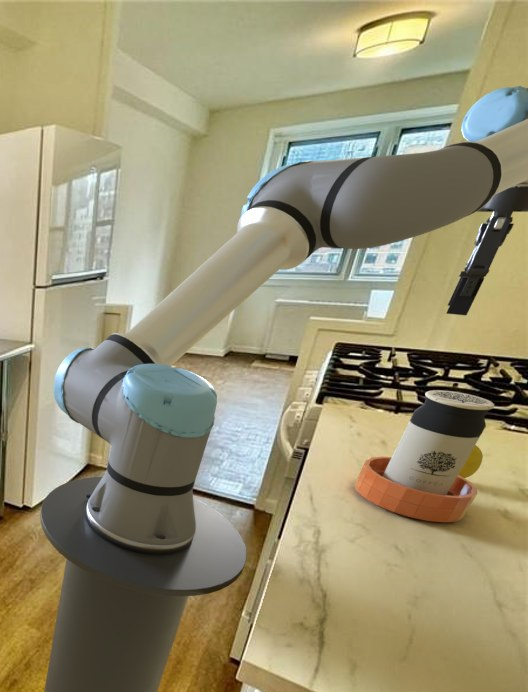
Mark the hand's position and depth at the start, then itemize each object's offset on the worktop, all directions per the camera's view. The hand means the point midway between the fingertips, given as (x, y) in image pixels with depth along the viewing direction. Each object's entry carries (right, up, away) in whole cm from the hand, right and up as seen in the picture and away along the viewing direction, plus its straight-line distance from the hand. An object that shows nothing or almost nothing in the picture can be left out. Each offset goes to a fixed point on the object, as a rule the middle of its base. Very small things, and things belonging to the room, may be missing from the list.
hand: (456, 310), depth 95 cm
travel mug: (-23, -36, -13) cm, 45 cm away
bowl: (-23, -36, -13) cm, 45 cm away
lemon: (-9, -33, -7) cm, 35 cm away
